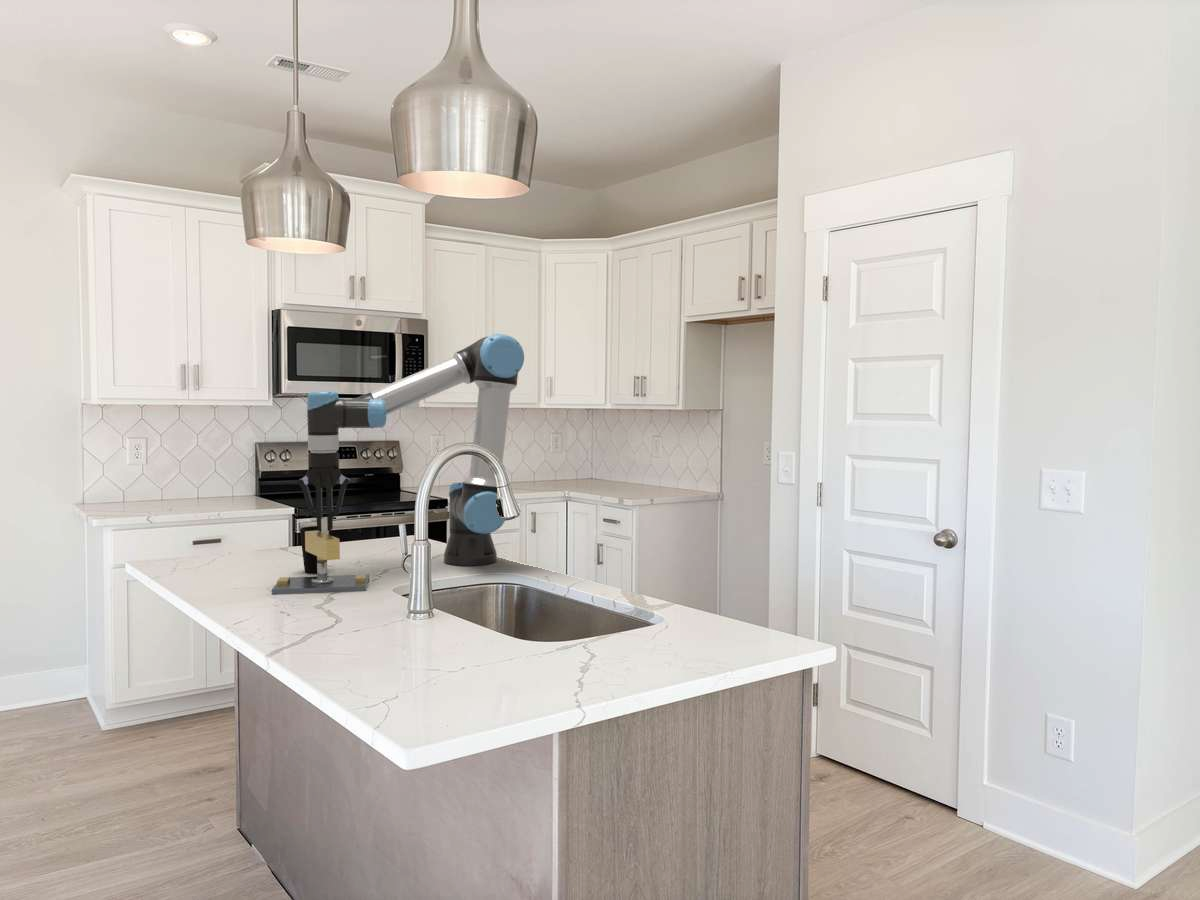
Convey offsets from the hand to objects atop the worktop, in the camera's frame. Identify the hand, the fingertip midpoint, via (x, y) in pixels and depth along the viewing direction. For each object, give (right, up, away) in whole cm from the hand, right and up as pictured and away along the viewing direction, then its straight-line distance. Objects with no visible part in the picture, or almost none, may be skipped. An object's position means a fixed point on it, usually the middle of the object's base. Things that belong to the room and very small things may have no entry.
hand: (325, 542), depth 227 cm
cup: (-6, -9, +12) cm, 17 cm away
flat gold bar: (+1, -4, -6) cm, 7 cm away
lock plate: (+1, -10, -6) cm, 12 cm away
